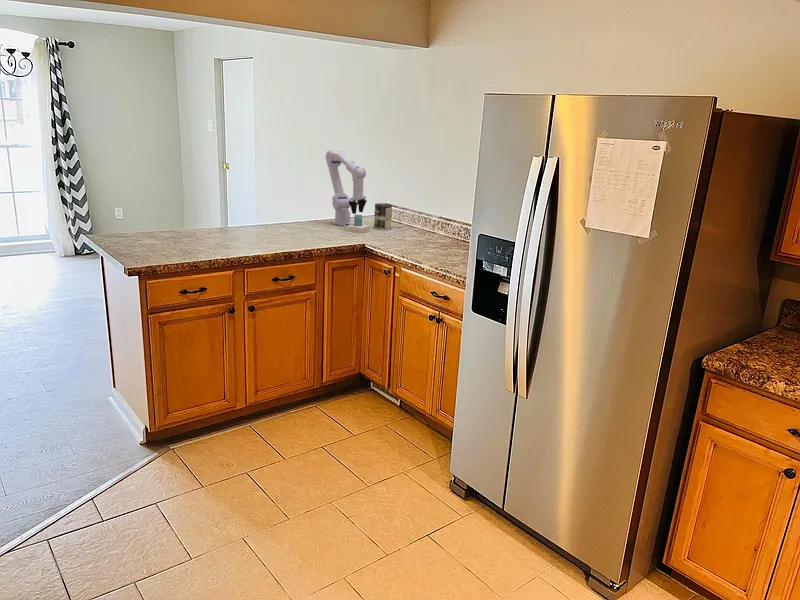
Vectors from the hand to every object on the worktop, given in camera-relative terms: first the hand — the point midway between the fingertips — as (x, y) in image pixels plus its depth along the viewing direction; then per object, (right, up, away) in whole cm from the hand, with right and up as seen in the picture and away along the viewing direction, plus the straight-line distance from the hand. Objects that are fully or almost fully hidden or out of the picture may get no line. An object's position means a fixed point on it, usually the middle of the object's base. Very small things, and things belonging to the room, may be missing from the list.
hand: (357, 212), depth 356 cm
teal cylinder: (+1, -8, -4) cm, 9 cm away
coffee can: (+14, -8, +10) cm, 19 cm away
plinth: (+1, -11, -3) cm, 11 cm away
